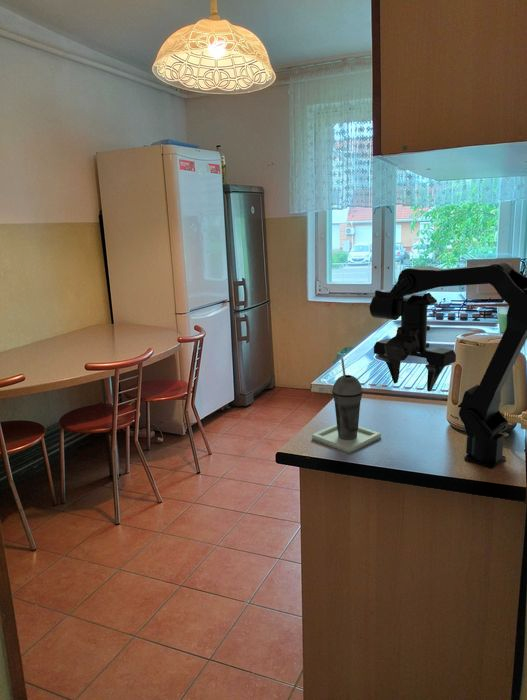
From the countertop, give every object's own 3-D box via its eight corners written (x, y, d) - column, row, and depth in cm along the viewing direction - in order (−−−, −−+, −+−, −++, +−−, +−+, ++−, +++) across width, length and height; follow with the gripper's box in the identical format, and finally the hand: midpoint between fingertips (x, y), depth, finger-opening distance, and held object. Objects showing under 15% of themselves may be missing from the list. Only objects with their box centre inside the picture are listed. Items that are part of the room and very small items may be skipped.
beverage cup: (366, 441, 126) (366, 360, 121) (336, 443, 125) (335, 363, 120) (357, 429, 133) (357, 352, 128) (329, 431, 132) (328, 355, 127)
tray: (380, 438, 128) (380, 433, 128) (349, 453, 121) (349, 448, 120) (343, 425, 137) (343, 420, 137) (312, 439, 129) (311, 434, 129)
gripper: (359, 323, 122) (359, 386, 126) (430, 333, 109) (428, 405, 112) (388, 315, 129) (387, 376, 133) (458, 325, 116) (455, 392, 119)
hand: (412, 386), depth 124 cm, fingers open, 9 cm apart
